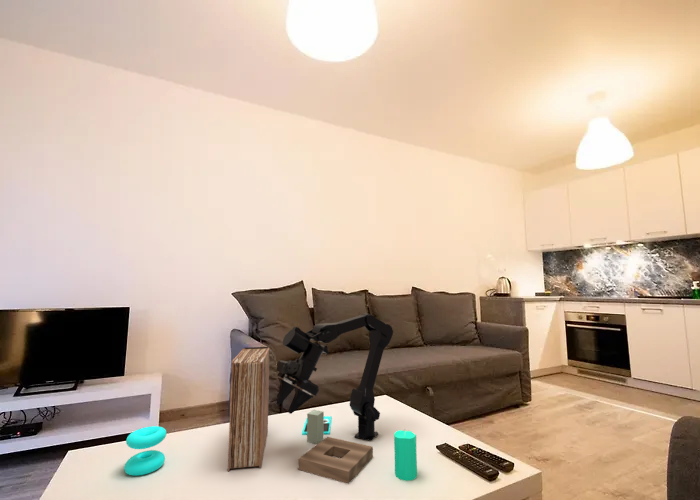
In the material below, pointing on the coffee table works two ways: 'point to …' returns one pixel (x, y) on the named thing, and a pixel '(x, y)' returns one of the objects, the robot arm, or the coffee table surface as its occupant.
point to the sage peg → (315, 426)
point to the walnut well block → (336, 459)
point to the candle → (405, 455)
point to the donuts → (146, 459)
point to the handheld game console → (326, 426)
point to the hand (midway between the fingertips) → (283, 408)
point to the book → (249, 407)
